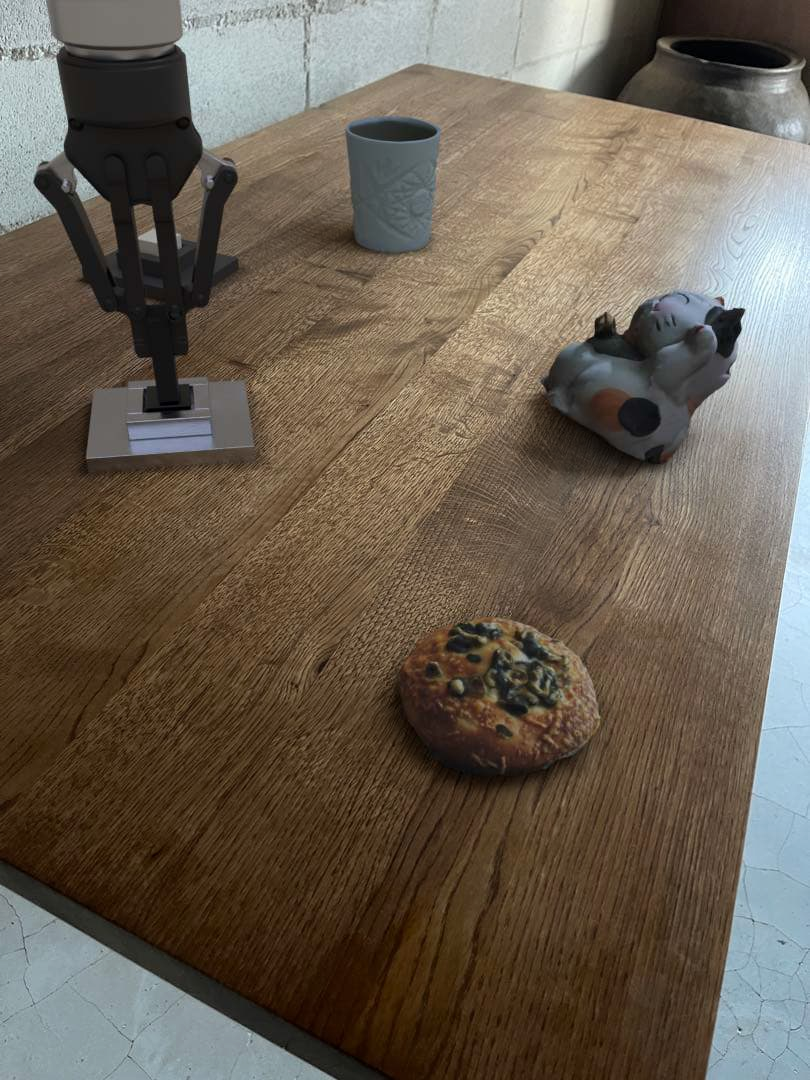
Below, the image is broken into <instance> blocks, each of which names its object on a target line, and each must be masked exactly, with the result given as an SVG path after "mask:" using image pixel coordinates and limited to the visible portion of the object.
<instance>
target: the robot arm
mask: <svg viewBox="0 0 810 1080" xmlns="http://www.w3.org/2000/svg"><path fill="white" fill-rule="evenodd" d="M45 4H46V10H47V14H48V20H49V26H50V31H51V36H52V37H53V38H54V39H55V40H56V41H58V42H59V43H61V44H63V46H61V47H60V48H59V50H58V53H56V55H55V59H56V65H57V70H58V75H59V81H60V86H61V92H62V99H63V103H64V110H65V115H66V121H67V132H66V134H65V138H64V141H63V151H62V152H61V153H58V155H56V156H55V157H53V158H52V159H51V160H50V161H48V160H44V161H41V162H39V164H38V165H37V168H36V171H35V173H34V178H33V185H34V187H35V188H36V190H37V191H38V192H39V193H40V194H41V195H42V196H43V197H44V198H45V200H46V201H47V202H48V203H49V204H50V206H52V207H53V208H54V209H55V210H56V213H57V215H58V217H59V219H60V221H61V224H62V227H63V228H64V230H65V232H66V235H67V237H68V239H69V241H70V244H71V246H72V248H73V250H74V252H75V255H76V257H77V258H78V261H79V263H80V265H81V269H82V268H83V270H84V272H85V274H86V277H87V279H88V281H89V282H88V283H89V285H90V287H91V290H92V293H93V294H94V296H95V299H96V301H97V303H98V305H99V307H100V308H101V310H102V311H104V312H105V313H108V314H109V313H114V312H117V313H119V314H123V315H125V316H126V317H127V318H128V320H129V322H130V329H131V336H132V342H133V348H134V353H135V355H136V356H137V358H138V359H149V358H151V361H152V369H153V375H154V380H155V382H156V389H157V396H158V402H171V401H179V386H178V371H177V364H176V363H177V362H176V357H179V356H188V353H189V349H190V343H189V333H188V332H189V331H188V324H187V314H188V312H189V311H191V310H193V309H196V308H198V309H203V308H206V307H207V306H208V305H209V303H210V298H211V292H212V288H211V286H212V279H213V273H214V267H215V260H216V254H217V253H218V249H219V247H218V246H219V240H220V235H221V229H222V222H223V216H224V210H225V209H224V208H225V205H226V204H227V201H228V200H229V198H230V196H231V194H232V193H233V191H234V189H235V188H236V186H237V184H238V181H239V176H238V170H237V164H236V162H235V160H233V159H232V158H230V157H227V156H226V157H220V156H218V155H217V154H215V153H213V152H212V151H210V150H209V149H207V148H206V147H204V145H203V139H202V136H201V134H200V132H199V131H198V130H197V128H196V126H195V124H194V121H193V115H192V114H193V113H192V105H191V104H192V103H191V95H190V84H189V74H188V65H187V64H188V63H187V55H186V53H185V52H184V51H183V50H182V48H181V47H180V46H179V45H177V44H176V43H178V41H180V40H181V38H183V36H184V27H183V17H182V16H183V15H182V7H181V6H182V5H181V0H45ZM196 167H198V168H199V169H200V172H199V182H200V185H201V187H202V188H203V189H204V191H203V192H204V193H203V198H202V205H201V211H200V218H199V225H198V232H197V239H196V242H197V245H196V252H195V259H194V266H193V273H192V280H191V283H190V284H188V285H185V286H183V287H182V279H181V271H180V263H179V255H178V247H177V238H176V233H177V231H176V223H175V215H174V205H173V201H174V200H175V199H177V198H178V196H179V195H180V193H181V192H182V190H183V189H184V186H185V185H186V183H187V182H188V180H189V178H190V177H191V175H192V173H193V172H194V170H195V169H196ZM75 170H77V171H78V172H79V174H80V175H81V176H82V177H83V178H84V179H85V180H86V181H87V182H88V183H89V184H90V186H91V187H92V188H94V190H95V191H96V192H97V193H98V194H99V195H100V197H101V198H103V199H104V200H105V201H106V202H108V203H109V205H110V212H111V218H112V222H113V225H114V233H115V238H116V245H117V249H118V252H119V258H120V264H121V271H122V277H123V284H124V288H120V287H118V285H117V283H116V281H115V278H114V276H113V274H112V272H111V269H110V267H109V265H108V262H107V260H106V258H105V256H106V255H105V253H104V251H103V249H102V247H101V244H100V241H99V239H98V237H97V235H96V233H95V229H94V228H93V226H92V223H91V221H90V218H89V216H88V214H87V212H86V209H85V207H84V204H83V202H82V200H81V198H80V196H79V194H78V192H77V190H76V189H77V186H78V177H77V176H76V173H75ZM139 205H145V206H149V207H151V210H152V218H153V222H154V228H155V230H156V237H157V244H158V252H159V259H160V267H161V274H162V281H163V289H164V296H165V301H164V303H160V304H159V303H157V304H148V303H147V296H146V291H145V284H144V277H143V270H142V263H141V256H140V249H139V242H138V237H139V235H138V228H137V221H136V215H135V206H136V207H137V206H139Z"/></svg>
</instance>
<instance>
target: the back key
mask: <svg viewBox="0 0 810 1080" xmlns="http://www.w3.org/2000/svg"><path fill="white" fill-rule="evenodd" d="M181 236H182V235H181V233H177V232H176V238H177V247H178V249H180V248H182V244H181V239H182V237H181ZM138 242H139V249H140V252H142V253H146V254H151V255H155V256H159V252H158V244H157V237H156V230H155V227H154V228H151V229H150V230H148V231H146V232H145V233H142V234H141V235H138Z"/></svg>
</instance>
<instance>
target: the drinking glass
mask: <svg viewBox="0 0 810 1080" xmlns="http://www.w3.org/2000/svg"><path fill="white" fill-rule="evenodd" d="M344 131H345V139H346V150H347V157H348V169H349V178H350V180H349V187H350V200H351V204H352V205H351V206H352V210H353V214H352V223H353V234H354V235H353V236H354V239H355V241H356V243H357V244H358V245H360V246H362V247H363V248H366V249H368V250H372V251H376V252H381V253H389V254H396V253H397V254H398V253H399V254H400V253H408V252H409V253H410V252H417V251H419V250H422V249H424V248H425V247H426V246H427V245H428V244H429V242H430V237H431V231H432V220H433V219H432V216H433V207H434V201H435V192H436V191H435V190H436V179H437V174H436V170H437V168H438V159H439V151H440V145H441V144H440V143H441V135H442V130H441V128H440V127H439V126H438V125H437V124H435V123H433V122H431V121H428V120H424V119H421V118H417V117H410V116H400V115H399V116H397V115H383V116H382V115H381V116H370V117H364V118H360V119H356V120H353V121H351V122H349V123H348V124H347V125H346V126H345V130H344Z"/></svg>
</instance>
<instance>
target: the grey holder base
mask: <svg viewBox="0 0 810 1080" xmlns="http://www.w3.org/2000/svg"><path fill="white" fill-rule="evenodd" d="M178 384H189V388H190V396H191V410H181V411H166V412H151V413H147V411H146V391H147V386H156V382H155V379H146V380H144V379H143V380H130V381H128V382H127V386H126V387H125V386H124V387H123V386H122V387H110V388H109V387H108V388H107V387H105V388H93V393H92V400H91V401H92V402H91V410H90V411H91V412H90V418H89V428H88V436H87V446H86V453H85V462H86V466H87V470H88V474H98V473H99V474H101V473H112V472H113V473H114V472H125V471H126V472H127V471H138V470H151V469H153V470H154V469H162V468H163V469H165V468H176V467H190V466H200V465H201V466H203V465H204V466H205V465H216V464H229V463H242V462H243V463H244V462H255V461H256V453H255V443H254V436H253V435H254V434H253V427H252V420H251V413H250V407H249V406H250V405H249V399H248V398H249V397H248V392H247V385H246V379H240V380H239V379H237V380H223V381H209V377H208V376H197V377H179V378H178Z"/></svg>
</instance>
